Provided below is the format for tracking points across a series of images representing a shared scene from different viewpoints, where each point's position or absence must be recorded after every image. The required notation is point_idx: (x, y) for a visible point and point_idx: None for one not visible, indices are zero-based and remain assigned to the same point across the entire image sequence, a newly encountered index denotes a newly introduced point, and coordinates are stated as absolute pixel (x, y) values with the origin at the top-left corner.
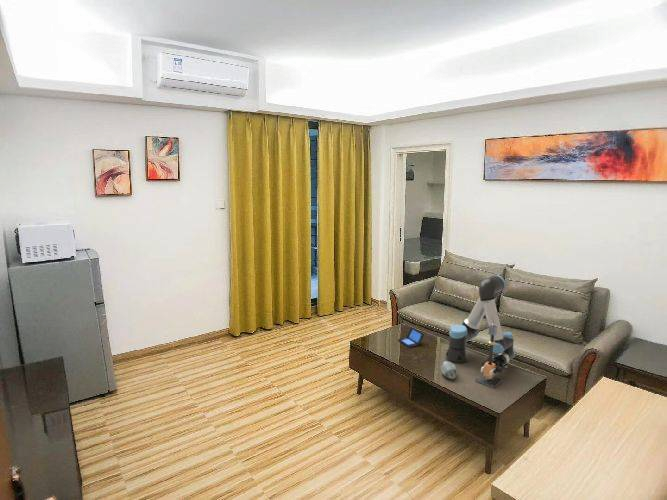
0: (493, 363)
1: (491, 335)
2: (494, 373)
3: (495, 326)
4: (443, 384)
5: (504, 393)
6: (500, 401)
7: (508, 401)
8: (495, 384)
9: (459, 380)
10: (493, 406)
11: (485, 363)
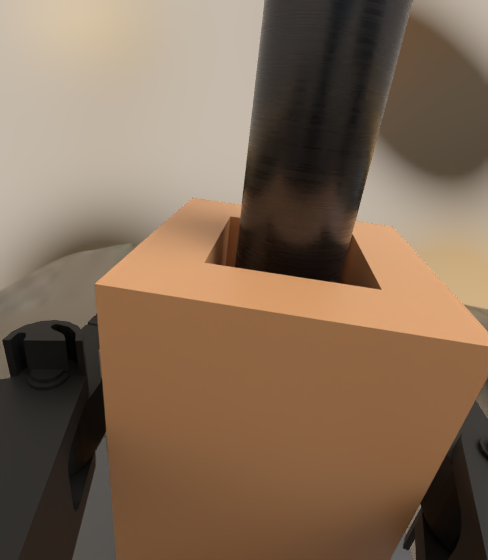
0: (190, 285)
1: None
2: (122, 550)
3: None
4: (470, 312)
5: (7, 376)
6: (77, 286)
7: (8, 299)
8: (103, 453)
9: (477, 396)
10: (127, 252)
11: (391, 236)
